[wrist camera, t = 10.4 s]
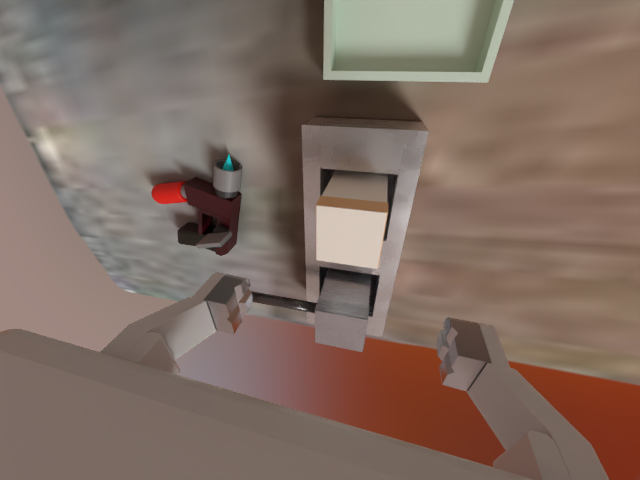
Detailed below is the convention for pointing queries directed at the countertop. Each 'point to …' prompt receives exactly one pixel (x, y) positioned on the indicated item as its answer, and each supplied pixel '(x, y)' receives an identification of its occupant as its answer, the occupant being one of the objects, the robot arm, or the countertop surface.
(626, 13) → the countertop surface
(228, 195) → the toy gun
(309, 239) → the grey box with openings
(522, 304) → the countertop surface
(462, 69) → the tray
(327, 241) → the plug
